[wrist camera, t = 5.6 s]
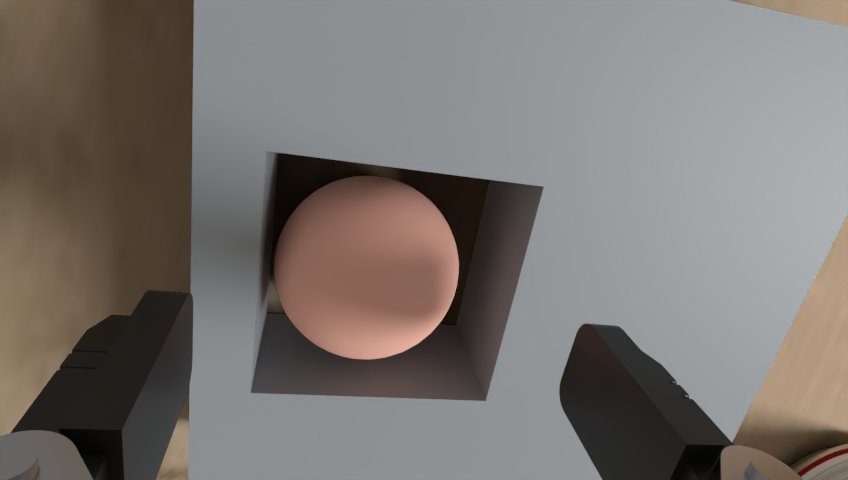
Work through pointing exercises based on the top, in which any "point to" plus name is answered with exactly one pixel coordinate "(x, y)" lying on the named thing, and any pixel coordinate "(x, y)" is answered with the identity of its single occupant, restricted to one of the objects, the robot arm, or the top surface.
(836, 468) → the soda can
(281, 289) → the ball
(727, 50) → the grey block with recess
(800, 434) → the top surface
